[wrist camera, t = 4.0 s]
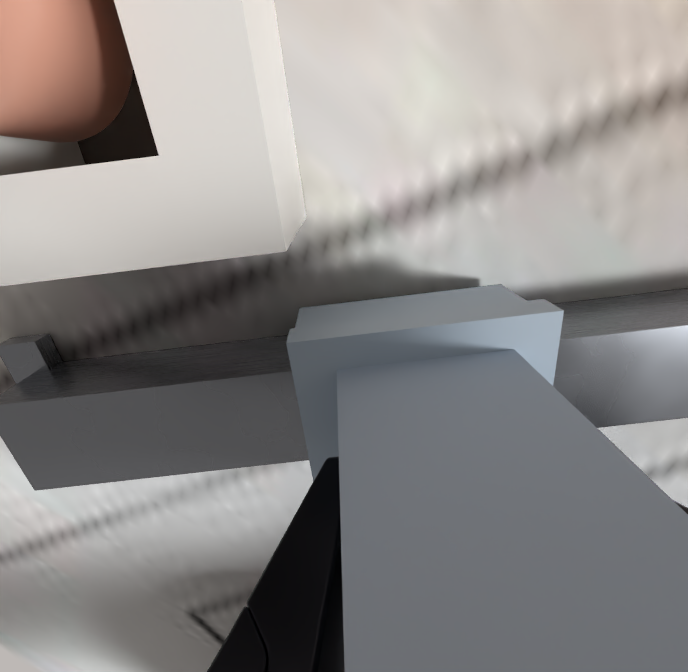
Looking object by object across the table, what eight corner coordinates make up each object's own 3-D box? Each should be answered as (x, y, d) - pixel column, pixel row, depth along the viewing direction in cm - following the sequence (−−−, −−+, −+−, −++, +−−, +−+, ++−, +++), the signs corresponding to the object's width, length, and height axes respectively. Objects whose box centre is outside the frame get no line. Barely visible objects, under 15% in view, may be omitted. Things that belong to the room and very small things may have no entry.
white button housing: (306, 217, 10) (286, 251, 6) (61, 247, 10) (-156, 305, 6) (251, -156, 7) (113, -727, 3) (-91, -108, 7) (-785, -574, 3)
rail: (803, 378, 13) (900, 420, 11) (77, 460, 13) (27, 516, 11) (870, 236, 11) (1006, 250, 9) (11, 337, 11) (-66, 377, 9)
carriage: (491, 428, 13) (784, 891, 5) (323, 446, 13) (311, 933, 5) (501, 274, 11) (1128, 638, 2) (298, 298, 11) (183, 733, 2)
